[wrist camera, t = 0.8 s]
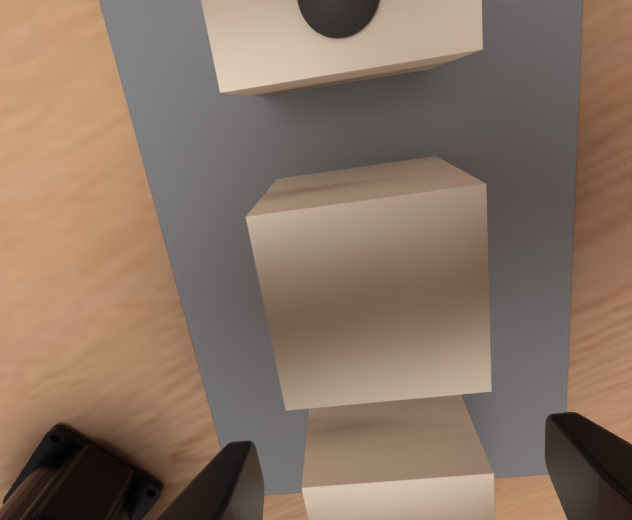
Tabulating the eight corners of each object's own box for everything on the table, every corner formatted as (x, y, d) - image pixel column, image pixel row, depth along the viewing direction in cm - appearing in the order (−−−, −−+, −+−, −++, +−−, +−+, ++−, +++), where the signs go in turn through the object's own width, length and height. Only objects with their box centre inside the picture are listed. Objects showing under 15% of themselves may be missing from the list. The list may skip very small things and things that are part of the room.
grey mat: (556, 460, 22) (564, 473, 21) (237, 484, 23) (234, 497, 22) (576, -184, 14) (591, -201, 13) (88, -81, 15) (74, -91, 14)
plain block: (445, 302, 18) (491, 391, 13) (301, 318, 19) (285, 410, 13) (435, 156, 16) (486, 184, 11) (276, 178, 17) (245, 216, 11)
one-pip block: (458, 472, 21) (503, 611, 15) (331, 482, 22) (327, 619, 16) (452, 364, 19) (500, 476, 14) (312, 378, 20) (301, 491, 14)
